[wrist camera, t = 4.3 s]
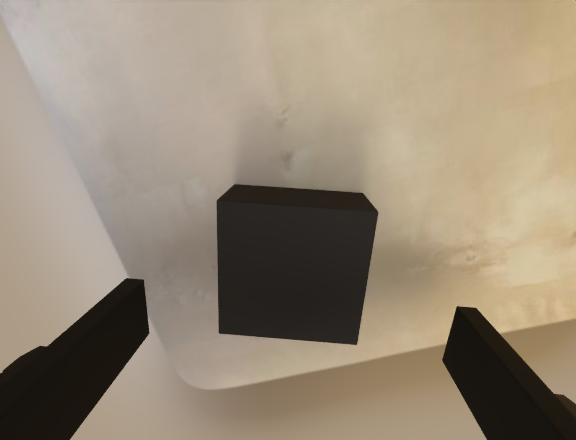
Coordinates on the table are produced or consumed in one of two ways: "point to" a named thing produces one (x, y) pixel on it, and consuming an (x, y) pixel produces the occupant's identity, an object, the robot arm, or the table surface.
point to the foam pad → (293, 262)
